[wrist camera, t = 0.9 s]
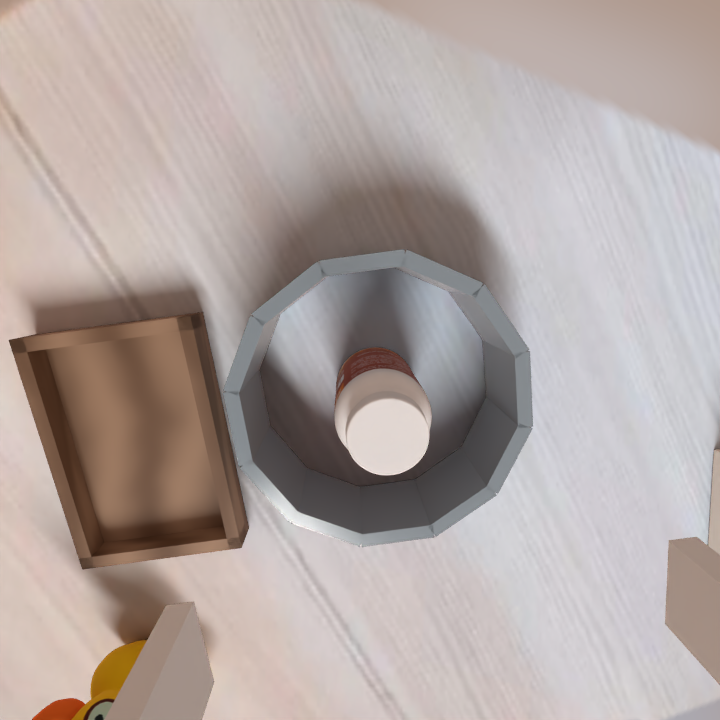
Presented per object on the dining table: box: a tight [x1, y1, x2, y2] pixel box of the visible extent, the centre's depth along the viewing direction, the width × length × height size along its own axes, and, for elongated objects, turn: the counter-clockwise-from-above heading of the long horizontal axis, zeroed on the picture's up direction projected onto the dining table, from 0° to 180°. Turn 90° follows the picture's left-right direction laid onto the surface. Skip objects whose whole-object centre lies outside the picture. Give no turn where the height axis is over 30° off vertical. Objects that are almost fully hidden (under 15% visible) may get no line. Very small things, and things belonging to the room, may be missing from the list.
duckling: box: [32, 640, 147, 720], centre depth 34 cm, size 11×5×10 cm, turn 61°
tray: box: [9, 312, 249, 569], centre depth 33 cm, size 13×19×3 cm
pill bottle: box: [334, 347, 432, 475], centre depth 28 cm, size 6×6×11 cm
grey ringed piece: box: [223, 249, 533, 547], centre depth 30 cm, size 20×20×6 cm
